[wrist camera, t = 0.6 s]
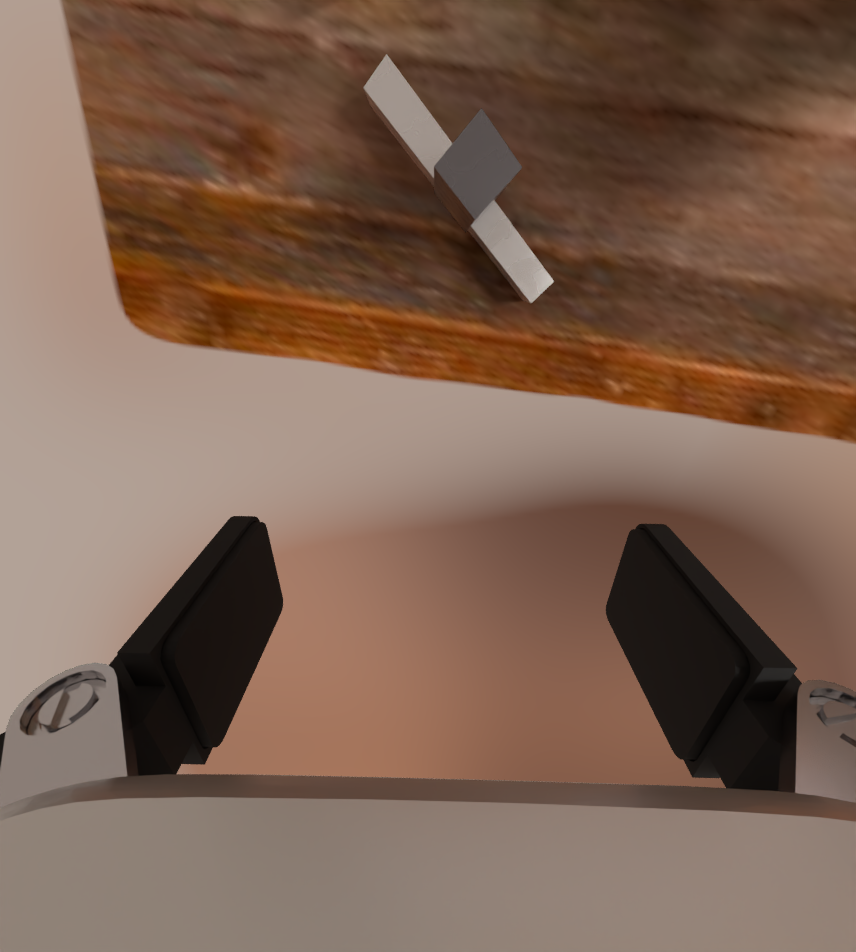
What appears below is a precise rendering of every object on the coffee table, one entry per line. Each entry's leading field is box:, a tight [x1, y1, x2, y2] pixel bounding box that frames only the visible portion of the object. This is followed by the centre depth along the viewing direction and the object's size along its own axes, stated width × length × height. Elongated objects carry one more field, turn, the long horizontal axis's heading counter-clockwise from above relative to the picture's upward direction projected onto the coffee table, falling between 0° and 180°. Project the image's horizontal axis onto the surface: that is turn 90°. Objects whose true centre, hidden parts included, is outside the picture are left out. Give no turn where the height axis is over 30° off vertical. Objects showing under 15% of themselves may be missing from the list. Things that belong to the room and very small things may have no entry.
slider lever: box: [363, 54, 554, 303], centre depth 23 cm, size 3×16×10 cm, turn 44°
